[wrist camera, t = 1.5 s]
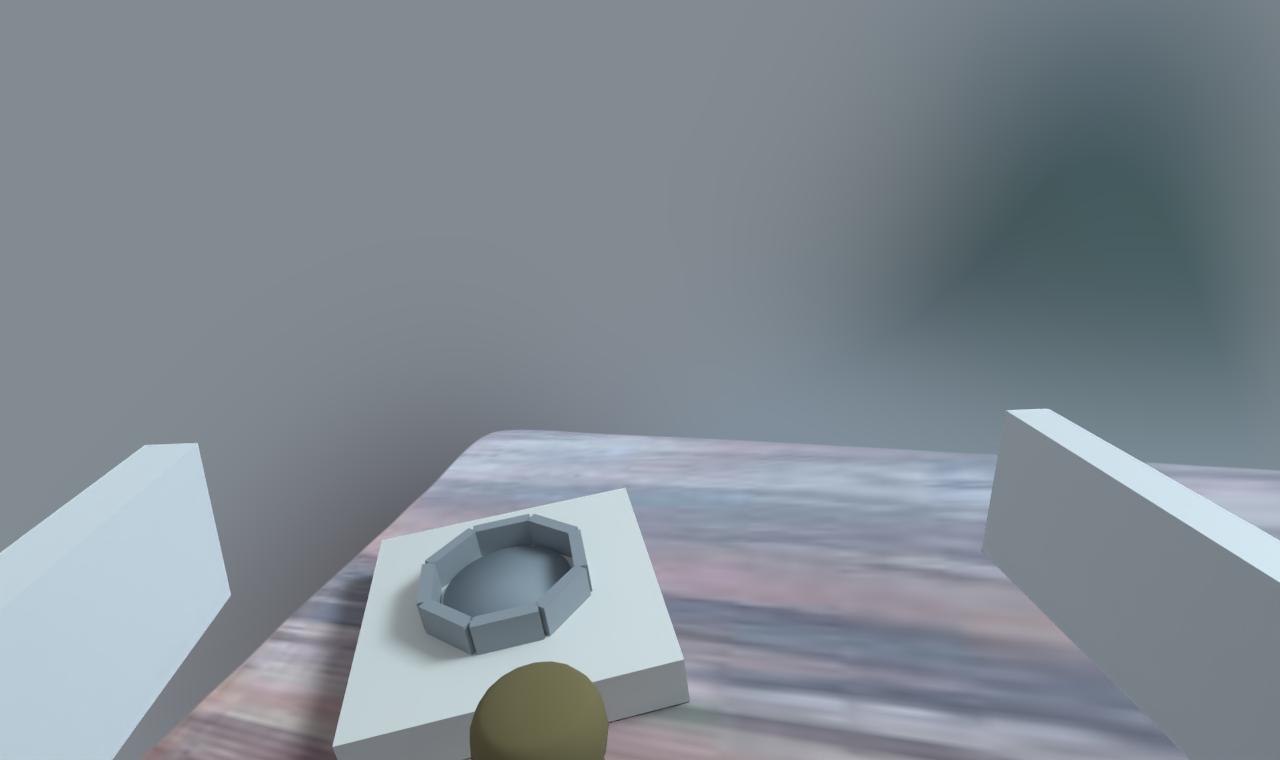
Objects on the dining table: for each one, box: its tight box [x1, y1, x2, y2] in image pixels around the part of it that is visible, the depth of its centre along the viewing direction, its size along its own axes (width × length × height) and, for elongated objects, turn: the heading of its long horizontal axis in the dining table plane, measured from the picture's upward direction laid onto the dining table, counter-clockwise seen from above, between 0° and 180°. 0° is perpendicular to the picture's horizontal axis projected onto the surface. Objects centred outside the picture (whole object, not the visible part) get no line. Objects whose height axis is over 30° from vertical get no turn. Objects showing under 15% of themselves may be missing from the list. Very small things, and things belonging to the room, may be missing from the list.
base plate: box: [332, 488, 690, 760], centre depth 45 cm, size 18×18×5 cm
